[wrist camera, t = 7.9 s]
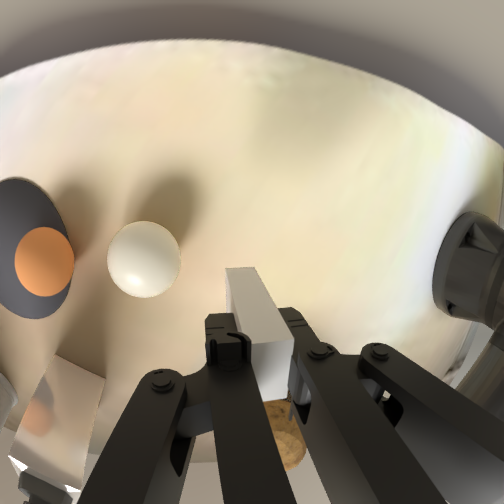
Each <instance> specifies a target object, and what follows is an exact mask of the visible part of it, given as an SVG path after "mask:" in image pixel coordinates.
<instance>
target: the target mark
mask: <svg viewBox="0 0 504 504" xmlns="http://www.w3.org/2000/svg"><path fill="white" fill-rule="evenodd" d="M39 227H49V228H53V229H55V230H57V231H59V232H60V233H61V234H63V235H64V236H65V238H66V239H67V240H68V237H67V233H66V230H65V227H64V225H63V222H62V220H61V218H60V216H59V214H58V212H57V210H56V209H55V207H54V205H53V204H52V202H51V201H50V200H49V199H48V197H47V196H46V195H45V194H44V193H43V192H42V191H41V190H40V189H38V188H37V187H35V186H34V185H32V184H30V183H28V182H26V181H22V180H7V181H4V182H1V183H0V303H1V304H2V305H3V306H4V307H6V308H7V309H8V310H10V311H11V312H13V313H15V314H17V315H19V316H21V317H24V318H29V319H40V318H44V317H47V316H49V315H51V314H52V313H54V312H55V311H56V310H57V309H58V308H59V307H60V306H61V304H62V303H63V302H64V300H65V298H66V296H67V293H68V290H69V287H70V282H71V279H70V281H69V282H68V284H67V285H66V287H65V288H64V289H63V290H61V291H60V292H59V293H57V294H55V295H52V296H38V295H35V294H33V293H31V292H29V291H28V290H27V289H26V288H25V287H24V286H23V285H22V283H21V282H20V280H19V278H18V276H17V273H16V269H15V253H16V249H17V247H18V244H19V242H20V241H21V239H22V238H23V237H24V236H25V235H26V234H27V233H28V232H30V231H31V230H33V229H35V228H39ZM68 242H69V240H68Z"/></svg>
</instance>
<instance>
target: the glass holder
mask: <svg viewBox="0 0 504 504" xmlns="http://www.w3.org/2000/svg"><path fill="white" fill-rule="evenodd" d="M17 403H18V397H17V394H16V392H15V390H14V388H13V387H12V385H11V384H10V383H9V381H8V380H7V379H6V378H5V377H4V375H3V374H2V373H1V372H0V432H1V430H2V428H3V425H4V423H5V421H6V419H7V417H8V415H9V412H10V410H11V408H12V407H13V406H14V405H16V404H17Z"/></svg>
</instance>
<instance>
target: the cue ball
mask: <svg viewBox="0 0 504 504" xmlns="http://www.w3.org/2000/svg"><path fill="white" fill-rule="evenodd" d="M107 264H108V270H109V273H110V275H111V277H112V279H113V281H114V282H115V284H116V285H117V286H118V287H119V288H120V289H121V290H123V291H124V292H126V293H127V294H129V295H132V296H135V297H140V298H148V297H154V296H157V295H159V294H161V293H163V292H164V291H166V290H167V289H168V288H169V287H170V286H171V285H172V284H173V283H174V281H175V279H176V278H177V275H178V273H179V270H180V265H181V255H180V249H179V246H178V244H177V242H176V240H175V238H174V237H173V235H172V234H171V233H170V232H169V231H168V230H167V229H166V228H164V227H163V226H161V225H159V224H157V223H154V222H150V221H138V222H134V223H131V224H129V225H127V226H125V227H123V228H122V229H121V230H120V231H118V233H117V234H116V235H115V236H114V238H113V239H112V241H111V243H110V246H109V249H108V253H107Z"/></svg>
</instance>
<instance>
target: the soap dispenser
mask: <svg viewBox="0 0 504 504" xmlns="http://www.w3.org/2000/svg"><path fill="white" fill-rule="evenodd" d="M105 381H106V379H105V378H102V377H100V376H98V375H96V374H93V373H91V372H89V371H87V370H85V369H83V368H81V367H79V366H77V365H75V364H73V363H71V362H69V361H67V360H65V359H63V358H61V357H59V356H57V355H56V354H55V355H54V357H53V359H52V360H51V362H50V364H49V366H48V368H47V369H46V371H45V373H44V375H43V377H42V379H41V381H40V383H39V385H38V387H37V389H36V391H35V393H34V395H33V397H32V399H31V401H30V403H29V405H28V407H27V409H26V412H25V414H24V416H23V418H22V421H21V423H20V425H19V428H18V430H17V433H16V435H15V438H14V440H13V443H12V446H11V448H10V451H9V454H8V456H9V458H10V460H11V462H12V464H13V466H14V468H15V470H16V472H17V474H18V476H19V485H18V489H19V490H20V491H21V492H23V493H24V494H25V495H26V496H28V497H29V502H27V501H24V503H23V504H71V503H74V504H77V501H78V499H79V497H80V494H81V487H82V480H83V473H84V468H85V462H86V457H87V452H88V447H89V443H90V438H91V434H92V429H93V425H94V421H95V417H96V413H97V409H98V406H99V402H100V398H101V394H102V391H103V387H104V384H105Z"/></svg>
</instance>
